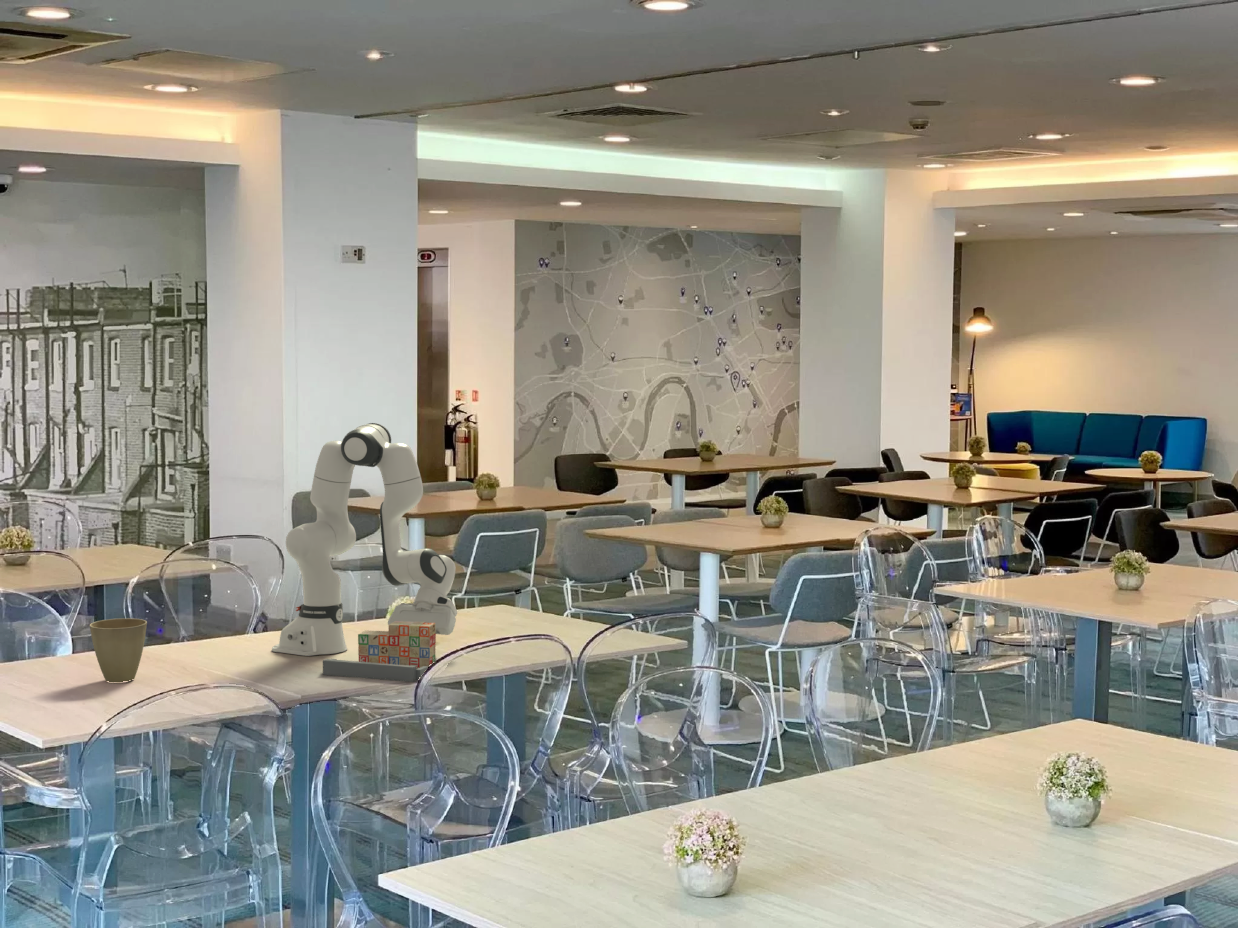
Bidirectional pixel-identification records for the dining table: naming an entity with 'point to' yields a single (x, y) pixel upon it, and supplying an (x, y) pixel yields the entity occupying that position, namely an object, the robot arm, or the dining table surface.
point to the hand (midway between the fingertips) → (413, 643)
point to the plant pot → (118, 647)
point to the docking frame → (372, 670)
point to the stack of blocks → (399, 644)
